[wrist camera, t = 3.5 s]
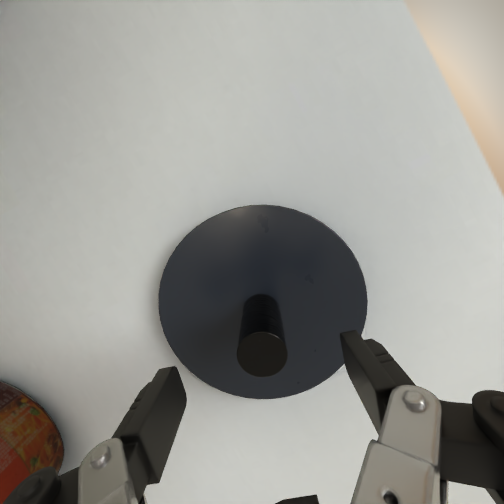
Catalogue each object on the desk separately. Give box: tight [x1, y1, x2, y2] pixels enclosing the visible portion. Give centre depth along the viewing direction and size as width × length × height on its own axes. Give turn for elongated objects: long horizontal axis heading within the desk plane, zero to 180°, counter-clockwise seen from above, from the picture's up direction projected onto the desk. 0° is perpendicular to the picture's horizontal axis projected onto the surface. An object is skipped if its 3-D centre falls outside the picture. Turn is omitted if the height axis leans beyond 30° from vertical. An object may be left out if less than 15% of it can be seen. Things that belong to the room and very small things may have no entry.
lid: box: [159, 205, 367, 399], centre depth 16 cm, size 15×15×6 cm
